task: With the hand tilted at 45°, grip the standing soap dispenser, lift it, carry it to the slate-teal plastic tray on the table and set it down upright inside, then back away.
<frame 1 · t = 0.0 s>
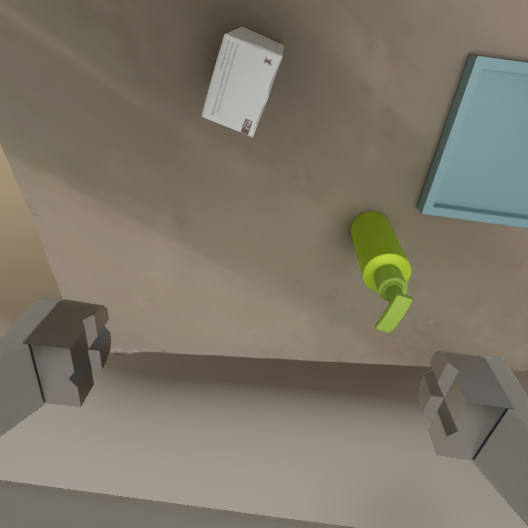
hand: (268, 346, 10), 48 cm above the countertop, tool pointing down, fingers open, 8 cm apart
skincare box: (253, 71, 50), on the countertop
soap dispenser: (368, 231, 60), on the countertop
tray: (514, 148, 53), on the countertop
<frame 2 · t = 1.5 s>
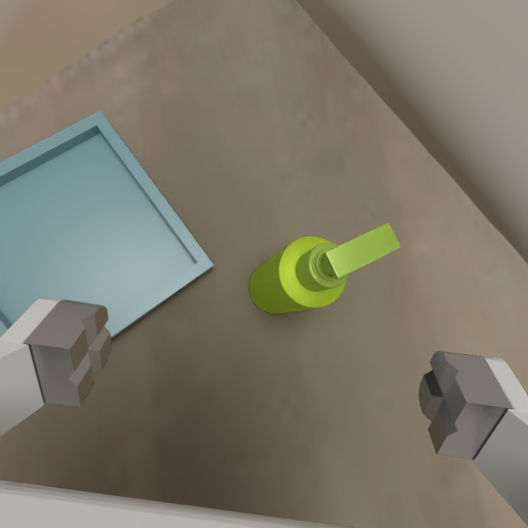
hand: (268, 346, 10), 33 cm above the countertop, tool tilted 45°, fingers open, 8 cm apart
soap dispenser: (277, 286, 45), on the countertop
tray: (75, 246, 40), on the countertop
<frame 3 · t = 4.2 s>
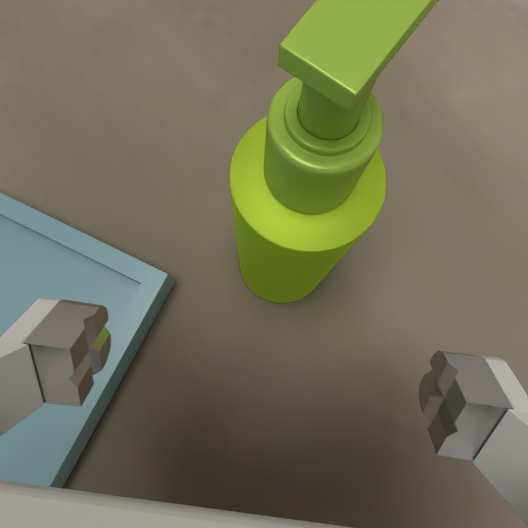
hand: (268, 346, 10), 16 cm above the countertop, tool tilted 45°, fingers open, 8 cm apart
soap dispenser: (285, 256, 28), on the countertop
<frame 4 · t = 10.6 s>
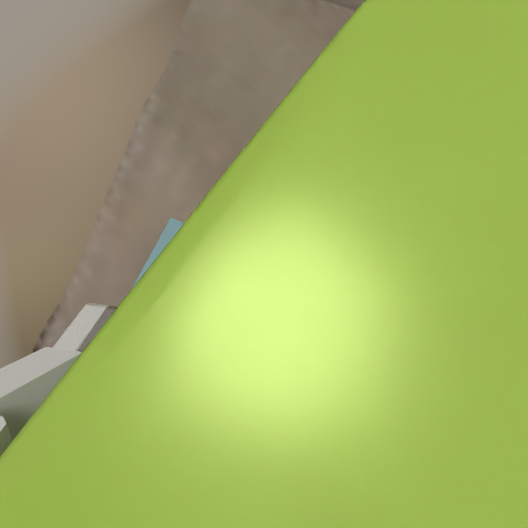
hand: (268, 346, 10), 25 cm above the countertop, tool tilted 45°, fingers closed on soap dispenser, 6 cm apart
soap dispenser: (263, 361, 20), point 14 cm above the countertop, touching gripper
tray: (225, 373, 34), on the countertop
when the fingers open (13 cm above the countertop, at t = 14.3 s): soap dispenser drops 1 cm, resting on tray.
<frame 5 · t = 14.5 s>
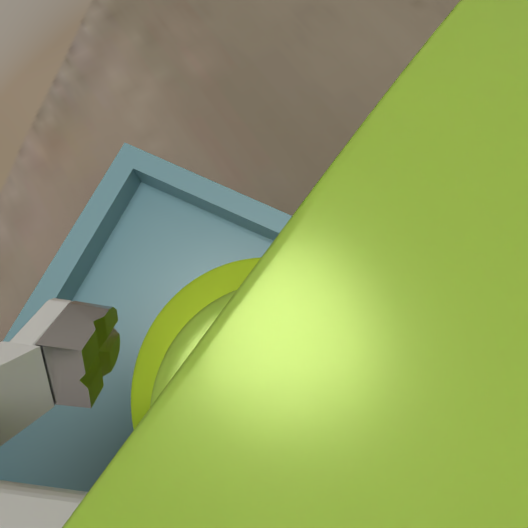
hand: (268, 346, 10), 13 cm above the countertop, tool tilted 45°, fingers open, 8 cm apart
soap dispenser: (263, 362, 21), point 1 cm above the countertop, touching tray
tray: (209, 383, 22), on the countertop
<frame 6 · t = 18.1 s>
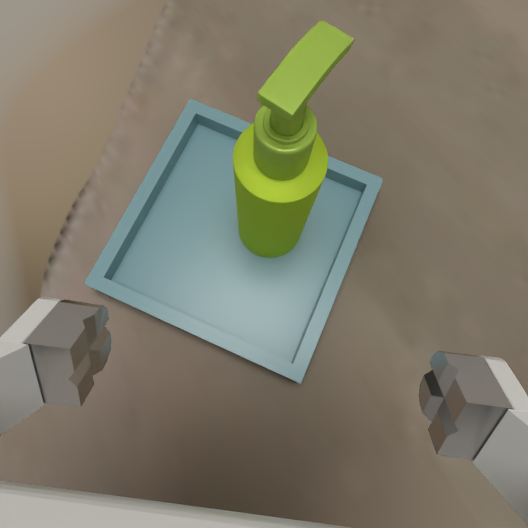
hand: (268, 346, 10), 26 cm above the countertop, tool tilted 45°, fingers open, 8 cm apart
soap dispenser: (272, 224, 37), point 1 cm above the countertop, touching tray
tray: (241, 237, 37), on the countertop
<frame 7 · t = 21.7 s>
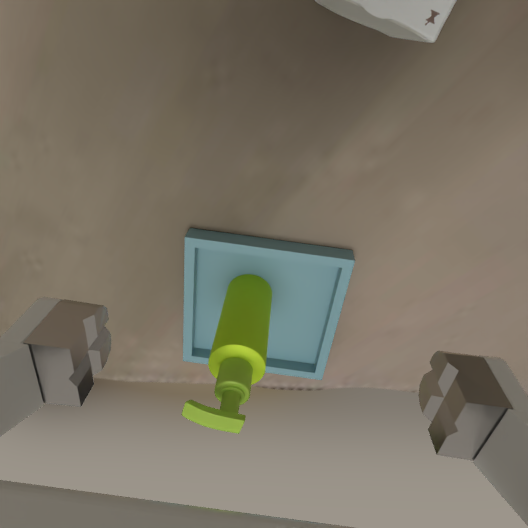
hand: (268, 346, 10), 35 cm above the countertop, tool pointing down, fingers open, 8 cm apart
soap dispenser: (246, 291, 51), point 1 cm above the countertop, touching tray
tray: (261, 304, 53), on the countertop
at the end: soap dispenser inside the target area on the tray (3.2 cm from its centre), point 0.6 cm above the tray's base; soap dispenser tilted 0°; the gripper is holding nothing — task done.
